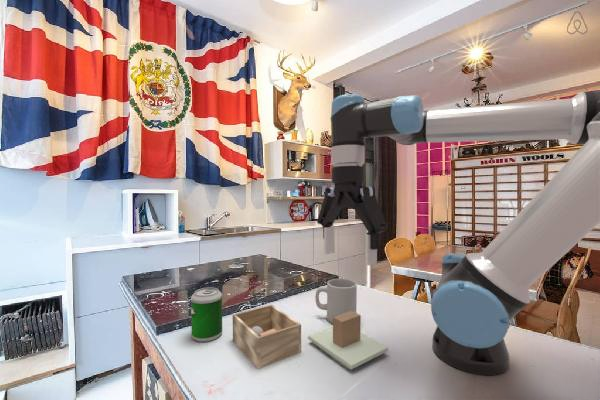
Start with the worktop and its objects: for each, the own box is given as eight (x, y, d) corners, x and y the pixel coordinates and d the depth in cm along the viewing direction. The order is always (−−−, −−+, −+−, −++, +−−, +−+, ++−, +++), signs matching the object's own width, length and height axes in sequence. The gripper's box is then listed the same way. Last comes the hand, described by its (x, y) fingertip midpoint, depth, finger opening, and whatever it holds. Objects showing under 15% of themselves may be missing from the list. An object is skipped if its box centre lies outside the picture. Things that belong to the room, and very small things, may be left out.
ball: (266, 342, 71) (266, 327, 71) (252, 346, 69) (252, 332, 69) (259, 336, 74) (259, 322, 74) (246, 340, 72) (246, 326, 72)
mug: (357, 315, 88) (357, 279, 87) (355, 328, 79) (356, 288, 79) (317, 311, 90) (318, 276, 90) (312, 323, 82) (312, 285, 82)
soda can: (227, 332, 77) (227, 287, 77) (212, 347, 70) (211, 298, 70) (203, 328, 79) (202, 285, 79) (185, 342, 72) (184, 295, 72)
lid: (388, 355, 66) (388, 321, 65) (351, 374, 59) (351, 336, 59) (342, 329, 78) (343, 300, 77) (308, 343, 71) (308, 311, 70)
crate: (301, 354, 67) (301, 324, 67) (257, 371, 61) (257, 338, 60) (271, 330, 79) (271, 304, 78) (232, 342, 72) (232, 314, 72)
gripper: (405, 162, 58) (405, 266, 59) (325, 170, 79) (326, 247, 80) (380, 160, 54) (380, 273, 55) (303, 169, 75) (304, 251, 75)
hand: (348, 258), depth 67 cm, fingers open, 13 cm apart
